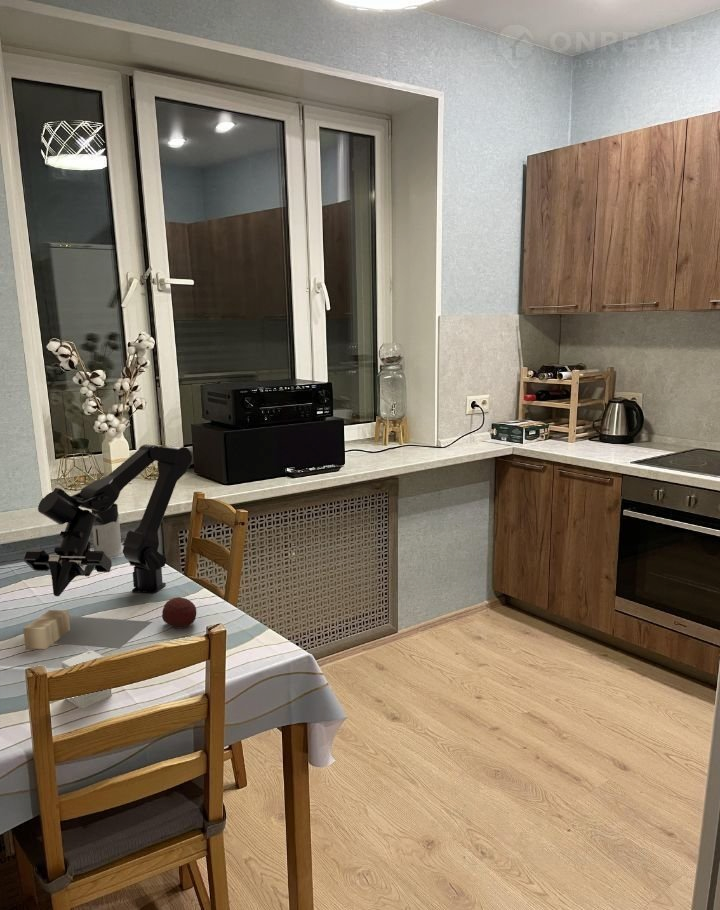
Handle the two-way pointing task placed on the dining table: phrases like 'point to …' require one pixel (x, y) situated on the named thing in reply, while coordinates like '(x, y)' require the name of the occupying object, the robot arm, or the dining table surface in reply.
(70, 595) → the dining table surface
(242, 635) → the dining table surface
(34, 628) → the birch block
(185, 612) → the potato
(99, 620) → the charcoal rubber mat
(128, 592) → the dining table surface
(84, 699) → the product box
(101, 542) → the glass holder
